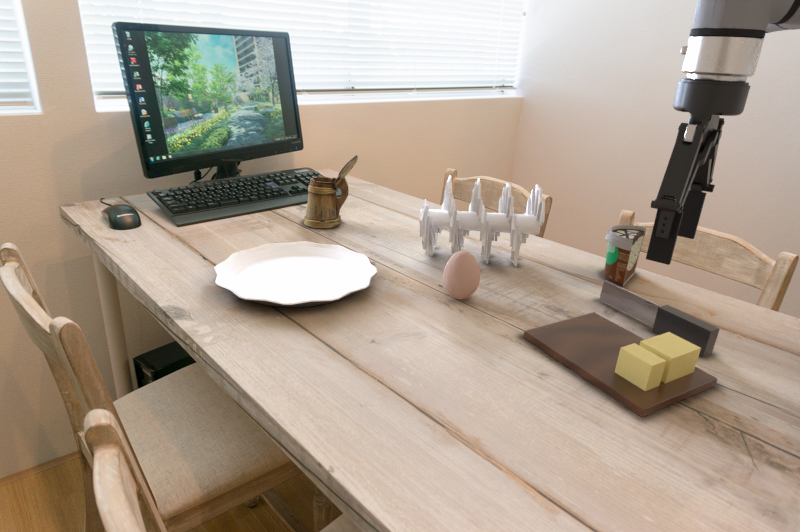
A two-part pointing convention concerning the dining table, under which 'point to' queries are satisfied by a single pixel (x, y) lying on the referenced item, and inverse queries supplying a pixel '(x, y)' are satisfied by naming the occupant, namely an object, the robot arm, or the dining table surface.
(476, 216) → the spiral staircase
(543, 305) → the dining table surface
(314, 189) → the wooden mug
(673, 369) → the butter bar
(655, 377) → the butter slice
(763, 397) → the dining table surface
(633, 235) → the food container
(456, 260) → the egg
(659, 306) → the knife
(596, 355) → the cutting board
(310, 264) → the plate
